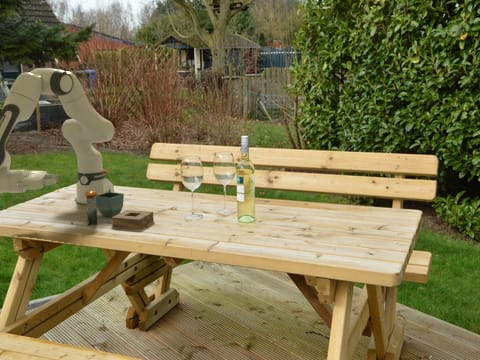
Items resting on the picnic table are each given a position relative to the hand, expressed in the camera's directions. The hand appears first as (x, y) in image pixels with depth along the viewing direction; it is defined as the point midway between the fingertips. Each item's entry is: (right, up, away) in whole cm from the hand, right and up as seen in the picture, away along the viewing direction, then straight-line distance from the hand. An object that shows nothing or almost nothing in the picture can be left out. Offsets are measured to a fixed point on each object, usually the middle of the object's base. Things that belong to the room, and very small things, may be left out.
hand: (57, 179), depth 210 cm
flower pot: (+16, -15, +20) cm, 30 cm away
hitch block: (+29, -18, +6) cm, 34 cm away
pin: (+12, -18, +7) cm, 23 cm away
